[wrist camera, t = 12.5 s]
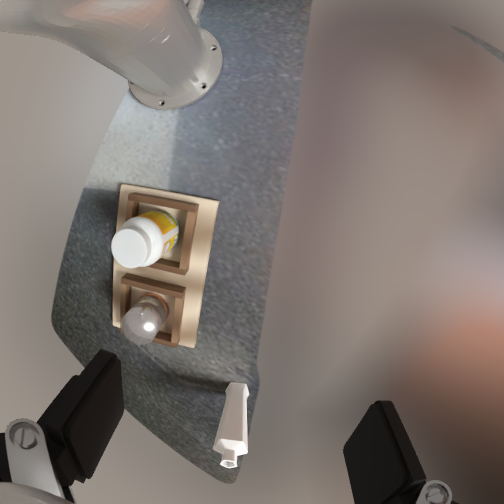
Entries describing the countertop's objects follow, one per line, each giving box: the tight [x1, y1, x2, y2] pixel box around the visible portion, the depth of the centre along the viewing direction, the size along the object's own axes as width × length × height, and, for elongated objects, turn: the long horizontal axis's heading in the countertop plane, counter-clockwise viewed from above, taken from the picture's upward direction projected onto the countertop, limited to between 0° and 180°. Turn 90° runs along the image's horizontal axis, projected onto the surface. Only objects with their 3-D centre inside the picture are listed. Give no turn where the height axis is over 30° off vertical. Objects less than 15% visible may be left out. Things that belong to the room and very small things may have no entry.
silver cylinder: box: [121, 292, 169, 345], centre depth 36 cm, size 5×5×6 cm
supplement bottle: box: [111, 210, 179, 268], centre depth 31 cm, size 5×5×10 cm
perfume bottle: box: [213, 382, 249, 468], centre depth 36 cm, size 5×4×15 cm
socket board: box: [113, 184, 219, 348], centre depth 37 cm, size 21×13×3 cm, turn 168°
